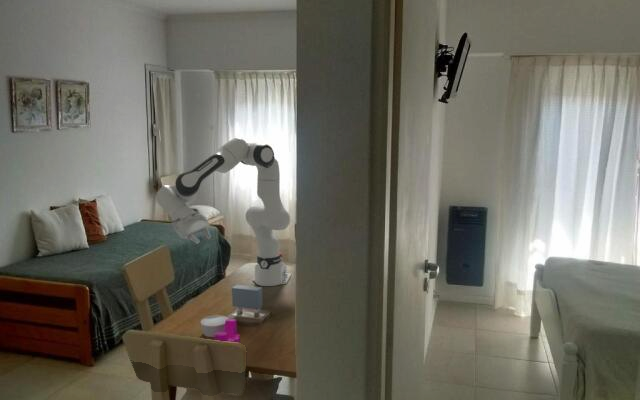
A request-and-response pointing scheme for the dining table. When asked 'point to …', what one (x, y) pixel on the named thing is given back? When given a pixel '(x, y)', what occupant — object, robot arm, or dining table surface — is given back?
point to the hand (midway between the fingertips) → (204, 240)
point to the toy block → (229, 332)
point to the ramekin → (213, 325)
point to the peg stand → (250, 316)
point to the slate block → (247, 297)
